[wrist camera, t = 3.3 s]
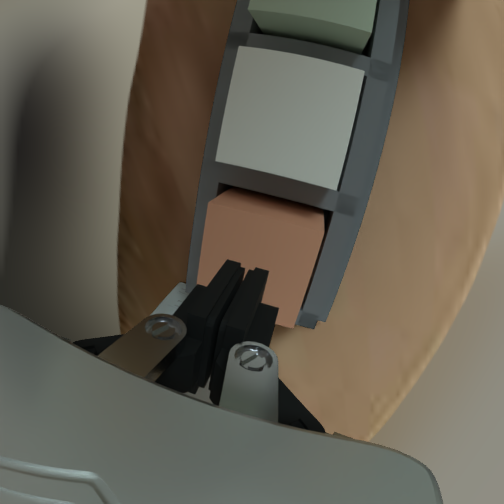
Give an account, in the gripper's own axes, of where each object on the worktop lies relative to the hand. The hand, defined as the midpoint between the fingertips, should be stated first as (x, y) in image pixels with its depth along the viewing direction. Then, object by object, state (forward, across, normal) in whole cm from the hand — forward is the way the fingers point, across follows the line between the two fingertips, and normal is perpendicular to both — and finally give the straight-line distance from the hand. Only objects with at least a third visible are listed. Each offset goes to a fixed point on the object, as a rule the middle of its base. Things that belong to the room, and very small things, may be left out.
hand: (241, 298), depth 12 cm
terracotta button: (+6, 0, 0) cm, 6 cm away
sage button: (+6, 0, -14) cm, 15 cm away
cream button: (+6, 0, -7) cm, 9 cm away
